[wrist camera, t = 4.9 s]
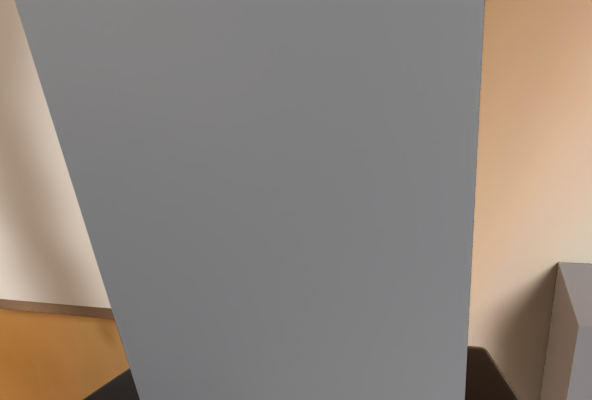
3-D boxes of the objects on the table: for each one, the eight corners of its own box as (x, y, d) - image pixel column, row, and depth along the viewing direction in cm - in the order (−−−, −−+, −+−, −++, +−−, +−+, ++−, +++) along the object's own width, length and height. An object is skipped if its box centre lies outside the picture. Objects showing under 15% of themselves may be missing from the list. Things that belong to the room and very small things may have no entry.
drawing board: (69, -390, 12) (34, -418, 11) (215, 310, 21) (204, 330, 20) (-236, -291, 15) (-286, -307, 14) (7, 293, 24) (-13, 310, 23)
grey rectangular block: (473, -197, 6) (503, -331, 3) (446, 563, 12) (445, 787, 9) (176, -147, 7) (-50, -205, 4) (291, 533, 13) (242, 726, 10)
